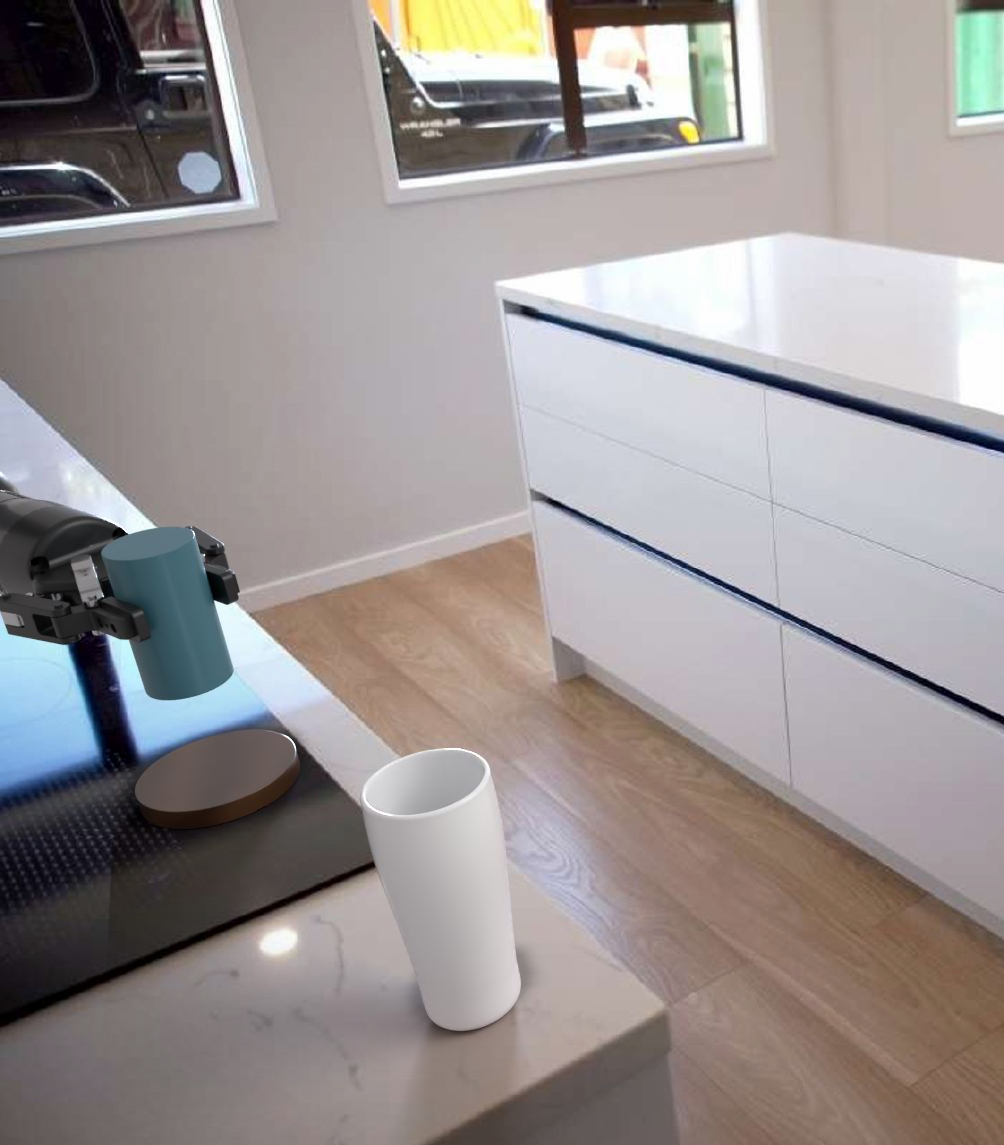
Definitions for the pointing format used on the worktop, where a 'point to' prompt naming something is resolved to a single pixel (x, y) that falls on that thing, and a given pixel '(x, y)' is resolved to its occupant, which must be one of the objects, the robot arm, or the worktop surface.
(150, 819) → the walnut disc
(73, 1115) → the worktop surface
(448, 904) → the drinking glass
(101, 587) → the robot arm
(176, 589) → the cylinder
